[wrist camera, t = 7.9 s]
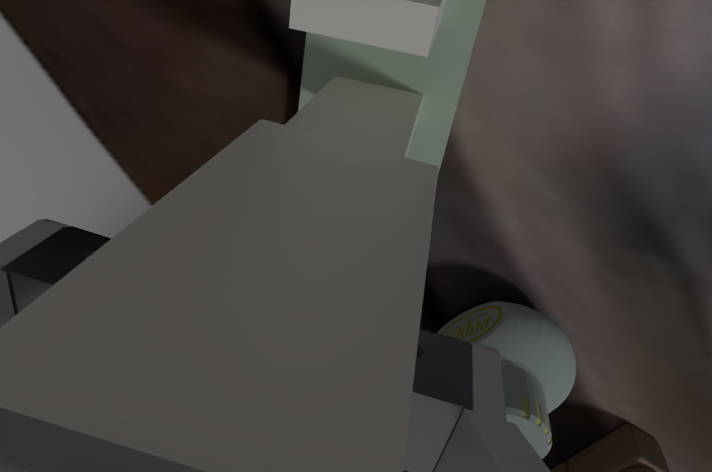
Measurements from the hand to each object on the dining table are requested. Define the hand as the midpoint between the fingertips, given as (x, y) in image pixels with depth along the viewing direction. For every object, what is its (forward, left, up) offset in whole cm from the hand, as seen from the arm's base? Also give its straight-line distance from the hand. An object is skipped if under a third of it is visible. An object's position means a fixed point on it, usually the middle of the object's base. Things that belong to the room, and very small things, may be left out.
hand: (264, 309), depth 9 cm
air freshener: (+11, +20, -26) cm, 34 cm away
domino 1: (0, 0, -7) cm, 7 cm away
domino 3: (+3, 0, -24) cm, 24 cm away
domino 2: (-3, -3, -24) cm, 25 cm away
